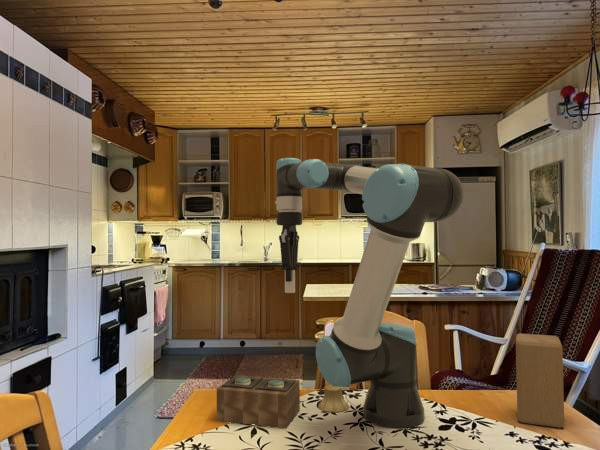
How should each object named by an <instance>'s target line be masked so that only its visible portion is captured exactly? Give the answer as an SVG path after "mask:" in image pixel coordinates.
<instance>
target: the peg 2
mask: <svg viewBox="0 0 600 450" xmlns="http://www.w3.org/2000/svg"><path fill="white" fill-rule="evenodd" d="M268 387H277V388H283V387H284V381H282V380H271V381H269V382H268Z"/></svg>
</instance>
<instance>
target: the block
mask: <svg viewBox="0 0 600 450" xmlns="http://www.w3.org/2000/svg"><path fill="white" fill-rule="evenodd" d="M563 353H564V352H563V345H562V342H561V340H560V338H559V336H556V335H548V334H533V333H517V334H516V335H515V364H516V365H515V367H516V368H515V371H516V373H515V374H516V375H515V376H516V377H515V378H516V407H517V408H516V409H517V410H516V413H517V414H516V415H517V416H516V417H517V420H518V421H519V422H521V423H523V424H528V425H538V426H543V427H551V428H557V429H558V428H559V429H561V428H564V426H565V396H564V395H565V393H564V361H563V360H564V357H563V355H564V354H563Z"/></svg>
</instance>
